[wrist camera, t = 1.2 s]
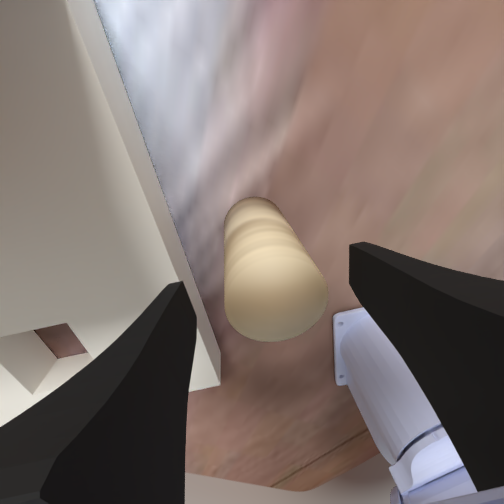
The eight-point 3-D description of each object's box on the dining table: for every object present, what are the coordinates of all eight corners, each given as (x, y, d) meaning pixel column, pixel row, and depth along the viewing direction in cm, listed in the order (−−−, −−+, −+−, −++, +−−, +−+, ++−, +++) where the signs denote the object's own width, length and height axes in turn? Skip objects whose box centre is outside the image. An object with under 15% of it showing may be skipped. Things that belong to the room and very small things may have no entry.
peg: (286, 246, 17) (330, 330, 10) (231, 258, 17) (236, 350, 10) (279, 191, 16) (326, 247, 8) (217, 204, 16) (212, 271, 8)
